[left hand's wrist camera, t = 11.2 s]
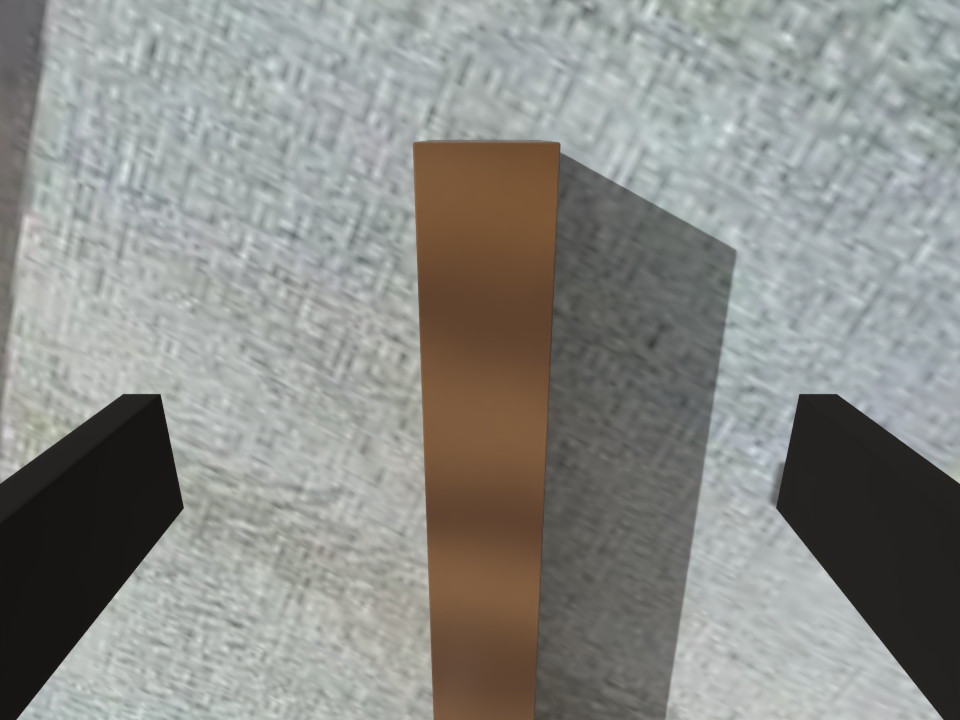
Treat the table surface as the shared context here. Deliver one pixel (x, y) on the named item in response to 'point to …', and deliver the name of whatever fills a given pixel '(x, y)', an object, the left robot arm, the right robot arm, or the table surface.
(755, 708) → the table surface
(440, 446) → the post
